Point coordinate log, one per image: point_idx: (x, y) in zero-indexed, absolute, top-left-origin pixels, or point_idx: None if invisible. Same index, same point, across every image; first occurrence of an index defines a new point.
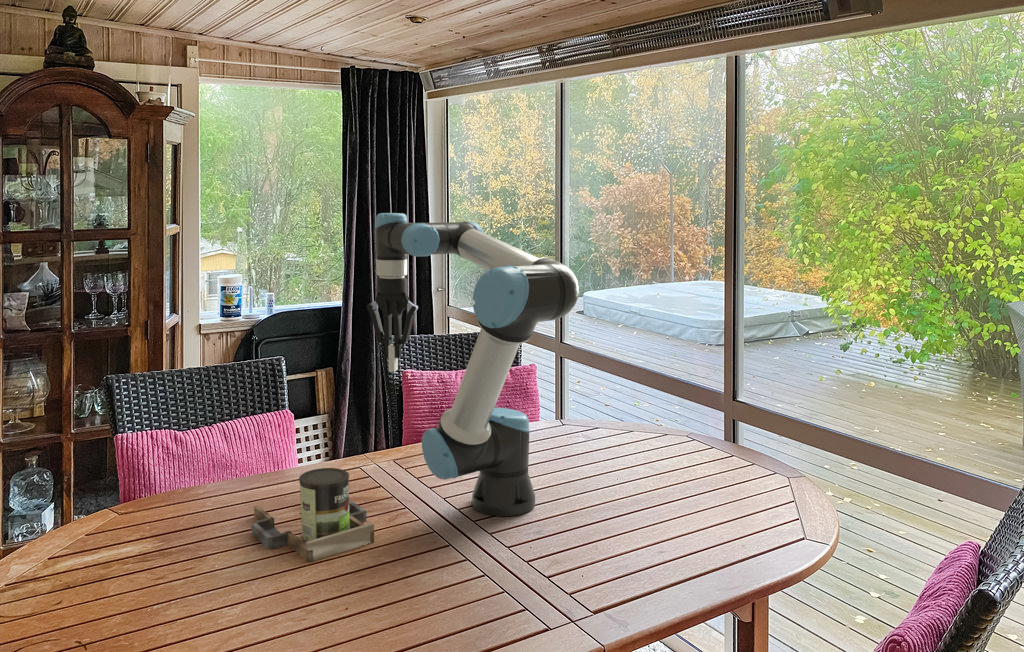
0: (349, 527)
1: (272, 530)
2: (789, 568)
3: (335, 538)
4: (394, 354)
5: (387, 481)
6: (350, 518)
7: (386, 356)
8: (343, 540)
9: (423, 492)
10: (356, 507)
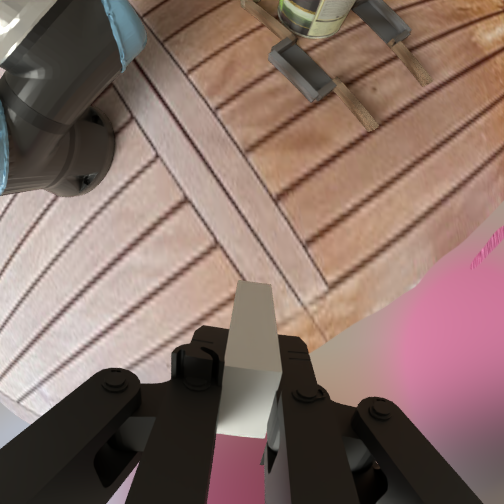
0: (279, 8)
1: (386, 37)
2: None
3: None
4: (229, 332)
5: (268, 223)
6: (286, 28)
7: (293, 340)
8: None
9: (195, 177)
10: (287, 63)
